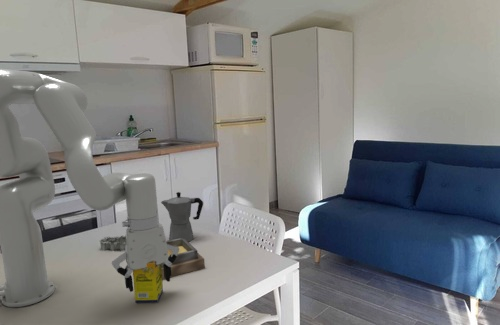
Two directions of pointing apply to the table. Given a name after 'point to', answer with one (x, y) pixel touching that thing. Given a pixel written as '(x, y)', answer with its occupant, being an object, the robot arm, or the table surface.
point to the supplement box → (148, 283)
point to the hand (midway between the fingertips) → (149, 284)
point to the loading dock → (184, 258)
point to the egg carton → (113, 243)
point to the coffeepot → (181, 216)
